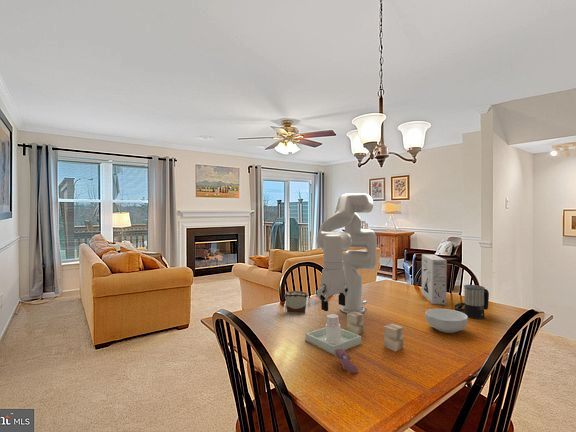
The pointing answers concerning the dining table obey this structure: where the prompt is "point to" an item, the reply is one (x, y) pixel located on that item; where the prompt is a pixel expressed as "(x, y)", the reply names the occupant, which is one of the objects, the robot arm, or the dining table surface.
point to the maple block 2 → (393, 337)
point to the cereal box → (434, 278)
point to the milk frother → (474, 301)
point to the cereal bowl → (446, 320)
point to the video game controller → (345, 361)
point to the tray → (319, 341)
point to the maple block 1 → (355, 322)
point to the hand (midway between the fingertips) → (333, 307)
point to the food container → (296, 301)
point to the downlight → (333, 330)
